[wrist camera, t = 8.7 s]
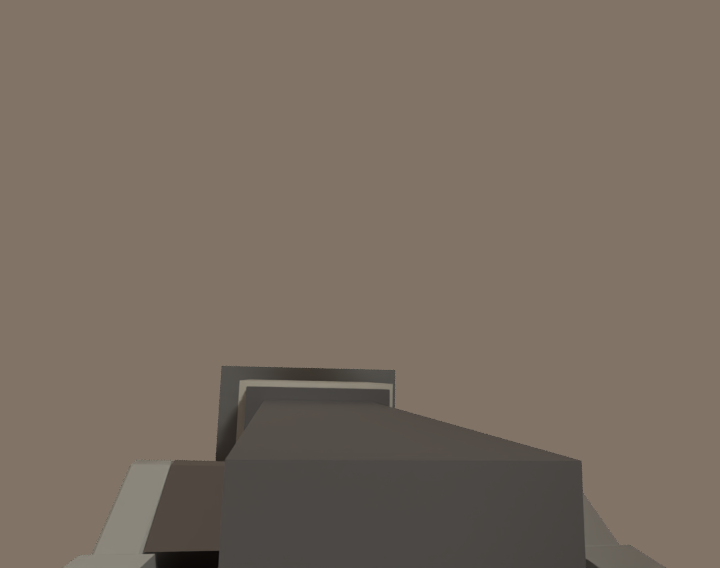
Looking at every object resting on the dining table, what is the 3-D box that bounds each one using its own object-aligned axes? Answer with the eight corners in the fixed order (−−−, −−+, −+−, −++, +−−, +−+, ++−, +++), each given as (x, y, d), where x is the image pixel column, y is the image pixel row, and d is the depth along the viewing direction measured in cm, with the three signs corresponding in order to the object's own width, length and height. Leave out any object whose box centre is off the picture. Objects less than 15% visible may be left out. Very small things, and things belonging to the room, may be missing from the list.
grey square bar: (364, 476, 21) (367, 382, 21) (687, 856, 4) (657, 402, 5) (243, 476, 20) (249, 379, 21) (81, 921, 4) (130, 392, 4)
